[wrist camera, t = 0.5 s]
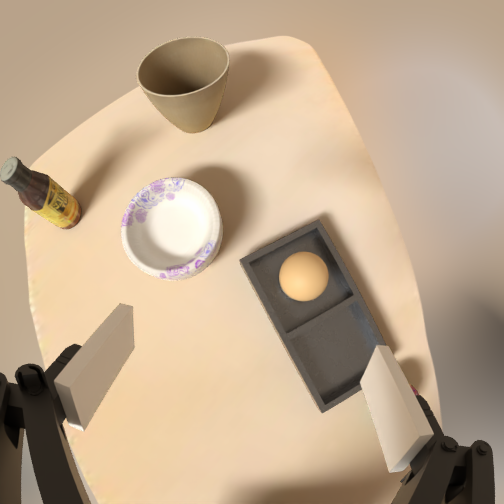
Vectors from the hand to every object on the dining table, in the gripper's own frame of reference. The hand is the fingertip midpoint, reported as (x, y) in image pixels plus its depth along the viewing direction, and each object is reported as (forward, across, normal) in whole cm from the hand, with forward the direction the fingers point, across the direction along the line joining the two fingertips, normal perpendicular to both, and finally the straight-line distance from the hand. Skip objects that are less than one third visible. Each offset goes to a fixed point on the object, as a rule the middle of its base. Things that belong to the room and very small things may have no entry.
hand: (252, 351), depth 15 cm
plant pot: (+47, +16, -15) cm, 52 cm away
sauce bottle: (+36, +36, +5) cm, 52 cm away
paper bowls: (+35, +13, +6) cm, 38 cm away
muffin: (+32, -7, +8) cm, 34 cm away
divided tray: (+30, -11, +13) cm, 34 cm away
